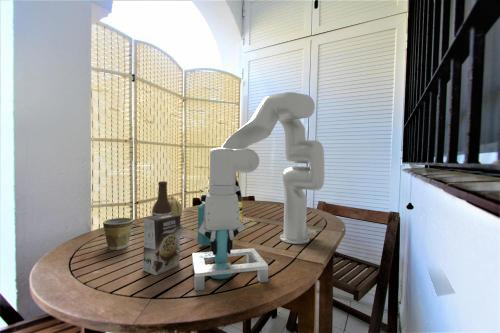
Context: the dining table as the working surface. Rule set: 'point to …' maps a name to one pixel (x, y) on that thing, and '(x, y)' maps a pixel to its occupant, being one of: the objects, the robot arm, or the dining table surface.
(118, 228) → the ceramic cup
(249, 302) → the dining table surface
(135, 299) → the dining table surface
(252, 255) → the keyhole plate
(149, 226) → the food box
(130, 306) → the dining table surface
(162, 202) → the beer bottle
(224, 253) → the flanged peg
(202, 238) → the beverage bottle
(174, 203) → the cantaloupe
